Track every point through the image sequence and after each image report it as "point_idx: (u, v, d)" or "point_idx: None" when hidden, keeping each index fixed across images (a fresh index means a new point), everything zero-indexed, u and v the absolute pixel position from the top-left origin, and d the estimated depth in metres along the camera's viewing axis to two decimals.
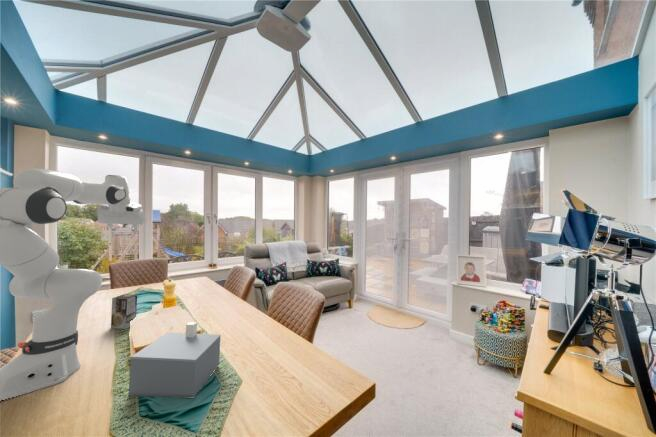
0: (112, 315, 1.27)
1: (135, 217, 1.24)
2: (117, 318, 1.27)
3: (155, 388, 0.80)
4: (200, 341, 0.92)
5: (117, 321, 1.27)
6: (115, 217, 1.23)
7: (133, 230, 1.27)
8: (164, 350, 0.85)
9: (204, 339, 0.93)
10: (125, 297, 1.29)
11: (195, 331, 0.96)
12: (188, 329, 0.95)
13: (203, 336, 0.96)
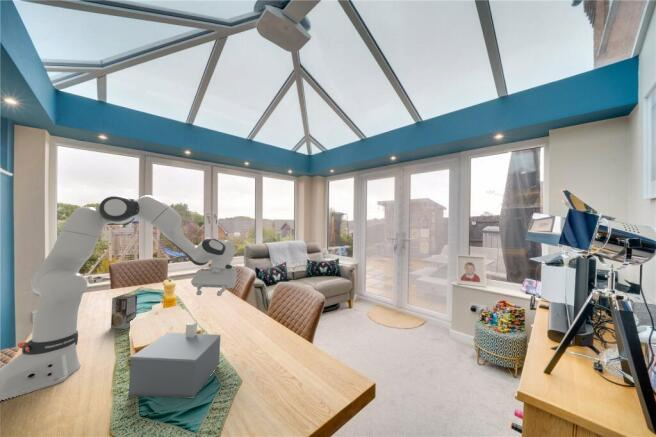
0: (112, 315, 1.27)
1: (229, 277, 1.14)
2: (117, 318, 1.27)
3: (155, 388, 0.80)
4: (200, 341, 0.92)
5: (117, 321, 1.27)
6: (209, 277, 1.14)
7: (219, 292, 1.09)
8: (164, 350, 0.85)
9: (204, 339, 0.93)
10: (125, 297, 1.29)
11: (195, 331, 0.96)
12: (188, 329, 0.95)
13: (203, 336, 0.96)
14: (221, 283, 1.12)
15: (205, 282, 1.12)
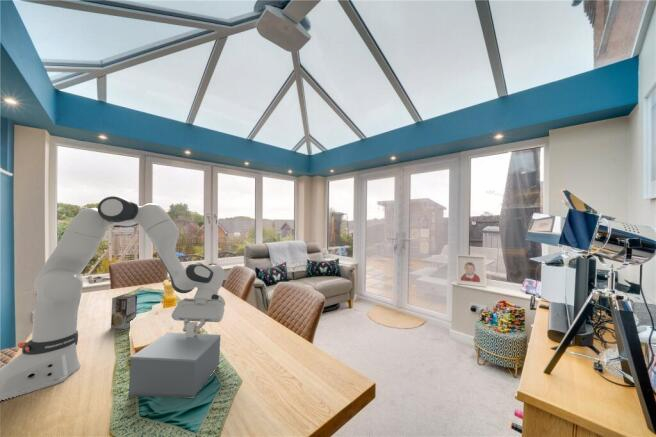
0: (112, 315, 1.27)
1: (215, 309, 1.00)
2: (117, 318, 1.27)
3: (155, 388, 0.80)
4: (200, 341, 0.92)
5: (117, 321, 1.27)
6: (192, 309, 1.00)
7: (196, 328, 0.95)
8: (164, 350, 0.85)
9: (204, 339, 0.93)
10: (125, 297, 1.29)
11: None
12: (188, 329, 0.95)
13: (203, 336, 0.96)
14: (205, 317, 0.98)
15: (187, 316, 0.98)
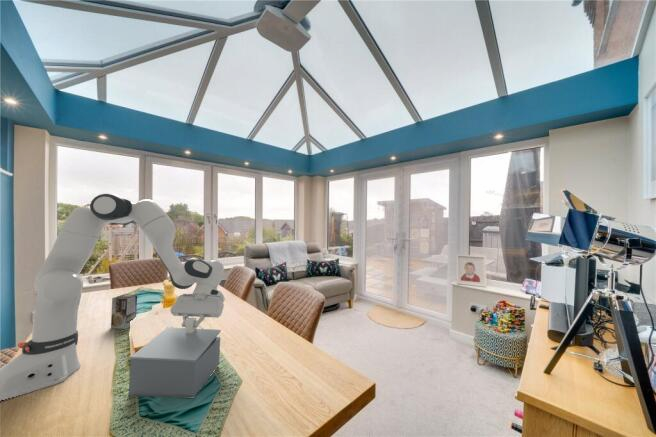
0: (112, 315, 1.27)
1: (214, 304, 0.99)
2: (117, 318, 1.27)
3: (155, 388, 0.80)
4: (200, 338, 0.92)
5: (117, 321, 1.27)
6: (192, 305, 0.99)
7: (195, 323, 0.95)
8: (164, 348, 0.85)
9: (204, 335, 0.93)
10: (125, 297, 1.29)
11: None
12: (187, 325, 0.94)
13: (203, 331, 0.96)
14: (205, 312, 0.97)
15: (186, 311, 0.97)
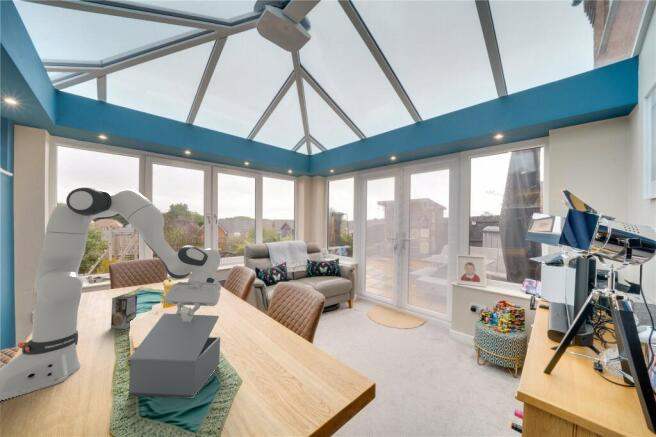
0: (112, 315, 1.27)
1: (210, 292, 0.96)
2: (117, 318, 1.27)
3: (155, 388, 0.80)
4: (198, 328, 0.90)
5: (117, 321, 1.27)
6: (186, 293, 0.95)
7: (190, 312, 0.91)
8: (163, 345, 0.84)
9: (202, 324, 0.91)
10: (125, 297, 1.29)
11: None
12: (182, 315, 0.91)
13: (201, 318, 0.94)
14: (200, 300, 0.93)
15: (181, 299, 0.93)
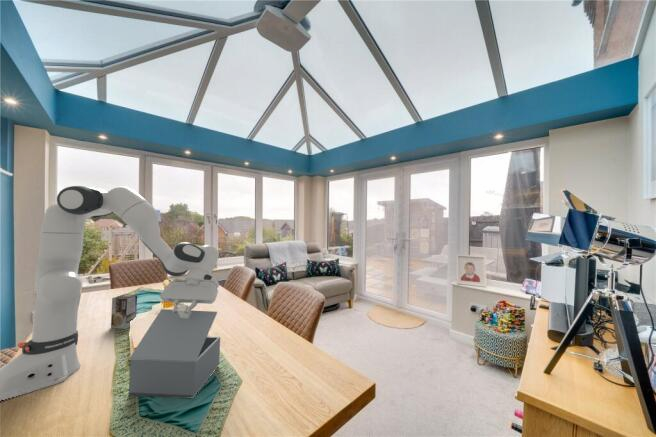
0: (112, 315, 1.27)
1: (207, 290, 0.93)
2: (117, 318, 1.27)
3: (155, 388, 0.80)
4: (197, 326, 0.89)
5: (117, 321, 1.27)
6: (183, 290, 0.93)
7: (187, 309, 0.89)
8: (162, 344, 0.83)
9: (200, 321, 0.90)
10: (125, 297, 1.29)
11: None
12: (180, 313, 0.89)
13: (199, 314, 0.92)
14: (197, 298, 0.91)
15: (178, 296, 0.91)
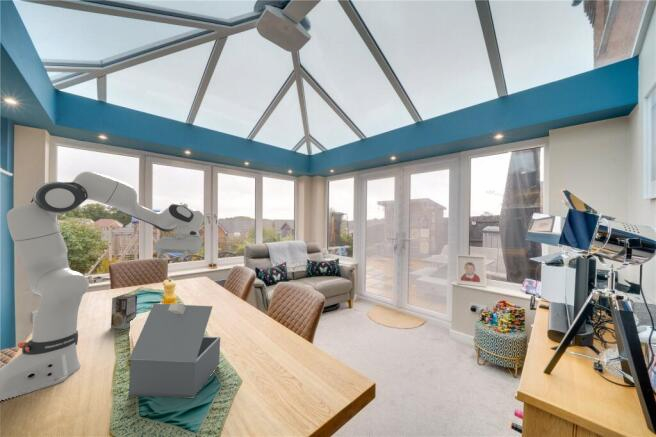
0: (112, 315, 1.27)
1: (192, 242, 1.12)
2: (117, 318, 1.27)
3: (155, 388, 0.80)
4: (193, 323, 0.86)
5: (117, 321, 1.27)
6: (172, 242, 1.12)
7: (180, 256, 1.07)
8: (159, 343, 0.82)
9: (196, 317, 0.87)
10: (125, 297, 1.29)
11: (182, 309, 0.87)
12: (173, 311, 0.85)
13: (194, 309, 0.89)
14: (183, 248, 1.10)
15: (167, 247, 1.10)
